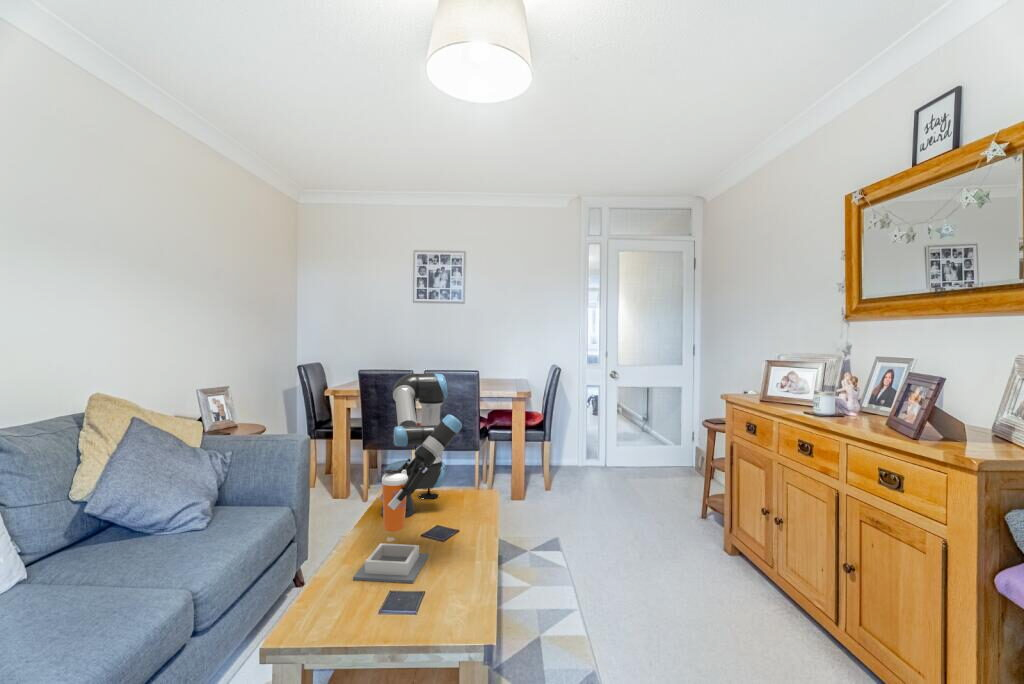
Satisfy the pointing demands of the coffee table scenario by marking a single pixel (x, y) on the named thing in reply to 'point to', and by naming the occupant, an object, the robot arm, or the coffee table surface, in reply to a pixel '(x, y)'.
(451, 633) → the coffee table surface
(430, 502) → the coffee table surface
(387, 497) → the shaker bottle
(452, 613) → the coffee table surface
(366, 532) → the coffee table surface
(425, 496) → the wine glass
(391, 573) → the holder
